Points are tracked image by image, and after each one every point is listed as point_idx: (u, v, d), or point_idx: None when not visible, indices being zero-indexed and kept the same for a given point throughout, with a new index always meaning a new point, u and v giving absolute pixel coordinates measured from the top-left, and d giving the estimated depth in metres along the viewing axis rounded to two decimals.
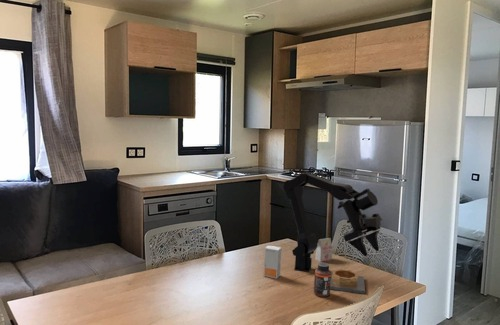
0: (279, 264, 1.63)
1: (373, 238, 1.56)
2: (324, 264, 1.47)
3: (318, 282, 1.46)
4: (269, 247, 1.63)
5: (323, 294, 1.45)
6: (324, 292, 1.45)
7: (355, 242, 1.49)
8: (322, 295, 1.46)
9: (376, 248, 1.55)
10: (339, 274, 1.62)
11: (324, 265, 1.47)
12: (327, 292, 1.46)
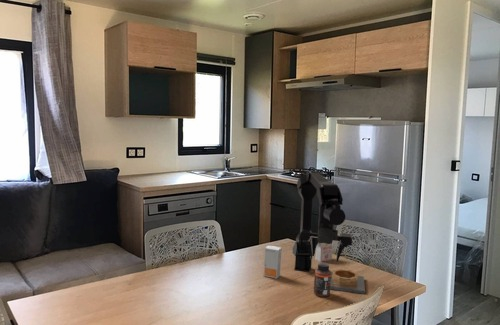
0: (279, 264, 1.63)
1: (338, 249, 1.45)
2: (324, 264, 1.47)
3: (318, 282, 1.46)
4: (269, 247, 1.63)
5: (323, 294, 1.45)
6: (324, 292, 1.45)
7: None
8: (322, 295, 1.46)
9: None
10: (339, 274, 1.62)
11: (324, 265, 1.47)
12: (327, 292, 1.46)
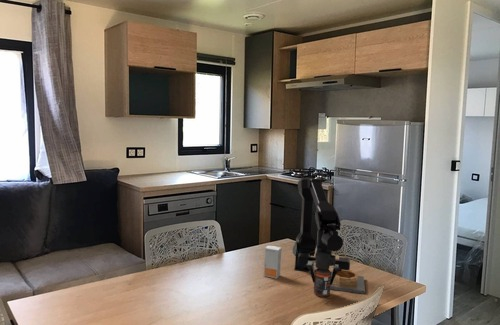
0: (279, 264, 1.63)
1: (332, 272, 1.46)
2: None
3: (318, 282, 1.46)
4: (269, 247, 1.63)
5: (323, 294, 1.45)
6: (324, 292, 1.45)
7: None
8: (322, 295, 1.46)
9: None
10: (339, 274, 1.62)
11: None
12: (327, 292, 1.46)
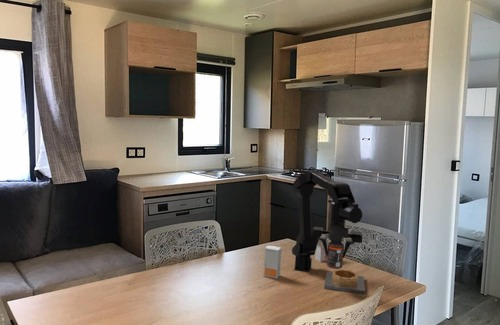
0: (279, 264, 1.63)
1: (345, 245, 1.51)
2: None
3: (331, 255, 1.50)
4: (269, 247, 1.63)
5: (336, 266, 1.50)
6: (337, 264, 1.50)
7: None
8: (335, 267, 1.50)
9: (343, 255, 1.52)
10: (339, 274, 1.62)
11: None
12: (340, 264, 1.50)
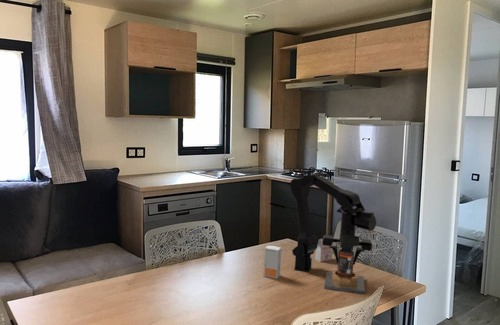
0: (279, 264, 1.63)
1: (355, 253, 1.57)
2: None
3: (342, 262, 1.56)
4: (269, 247, 1.63)
5: (346, 273, 1.56)
6: (348, 271, 1.56)
7: None
8: (346, 274, 1.56)
9: (353, 262, 1.57)
10: (339, 274, 1.62)
11: None
12: (350, 271, 1.56)
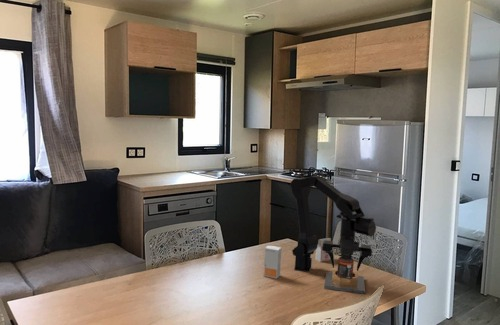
0: (279, 264, 1.63)
1: (358, 259, 1.56)
2: None
3: (342, 270, 1.56)
4: (269, 247, 1.63)
5: None
6: None
7: None
8: None
9: (357, 268, 1.57)
10: None
11: None
12: None
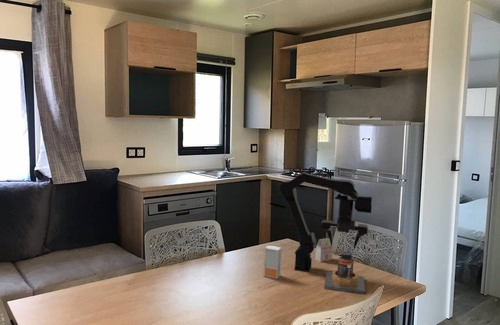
0: (279, 264, 1.63)
1: None
2: (347, 253, 1.58)
3: (342, 270, 1.56)
4: (269, 247, 1.63)
5: None
6: None
7: None
8: None
9: None
10: None
11: (347, 253, 1.57)
12: None
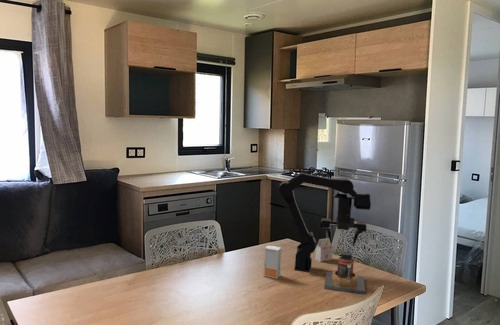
0: (279, 264, 1.63)
1: (354, 234, 1.69)
2: (347, 253, 1.58)
3: (342, 270, 1.56)
4: (269, 247, 1.63)
5: None
6: None
7: None
8: None
9: None
10: None
11: (347, 253, 1.57)
12: None
